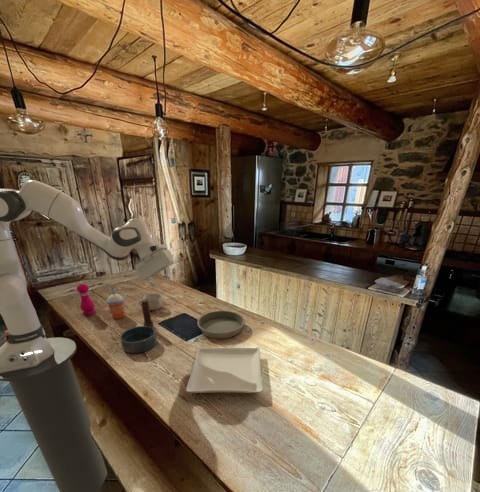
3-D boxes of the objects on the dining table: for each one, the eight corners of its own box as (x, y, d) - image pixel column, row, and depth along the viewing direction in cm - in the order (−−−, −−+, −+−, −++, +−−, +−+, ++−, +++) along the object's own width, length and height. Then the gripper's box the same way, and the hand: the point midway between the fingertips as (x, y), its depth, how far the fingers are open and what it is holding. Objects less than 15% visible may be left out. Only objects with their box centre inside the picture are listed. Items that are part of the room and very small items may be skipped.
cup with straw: (107, 316, 154) (100, 287, 146) (123, 311, 159) (117, 283, 152) (113, 321, 148) (106, 291, 140) (129, 316, 153) (123, 287, 146)
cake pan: (204, 345, 125) (204, 336, 123) (193, 322, 146) (192, 315, 144) (252, 334, 133) (252, 326, 131) (234, 314, 154) (234, 307, 152)
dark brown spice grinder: (145, 331, 137) (140, 303, 131) (143, 327, 141) (138, 300, 134) (154, 328, 140) (150, 301, 133) (152, 325, 143) (147, 298, 137)
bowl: (126, 358, 116) (123, 346, 114) (120, 342, 128) (117, 331, 125) (160, 347, 123) (159, 336, 121) (151, 333, 135) (149, 323, 133)
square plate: (259, 354, 118) (259, 346, 116) (262, 399, 93) (263, 391, 91) (198, 354, 118) (198, 346, 117) (185, 398, 93) (184, 390, 92)
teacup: (161, 303, 170) (160, 291, 167) (165, 309, 161) (163, 297, 158) (138, 307, 165) (136, 295, 161) (141, 314, 156) (138, 302, 152)
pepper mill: (98, 311, 160) (90, 279, 152) (91, 316, 154) (82, 283, 146) (87, 310, 161) (79, 279, 153) (79, 315, 155) (70, 283, 147)
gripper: (128, 263, 121) (140, 291, 121) (159, 243, 112) (172, 272, 112) (139, 263, 127) (150, 289, 127) (169, 243, 118) (181, 272, 118)
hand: (161, 281), depth 119 cm, fingers open, 8 cm apart
